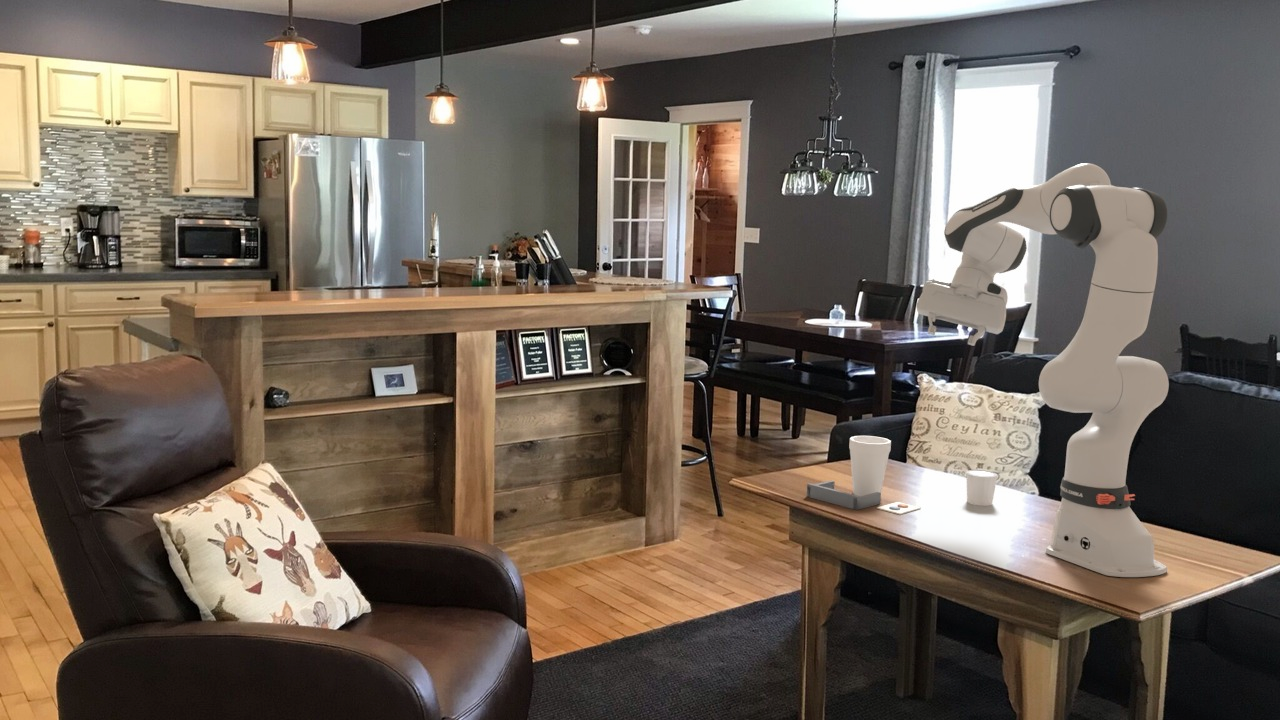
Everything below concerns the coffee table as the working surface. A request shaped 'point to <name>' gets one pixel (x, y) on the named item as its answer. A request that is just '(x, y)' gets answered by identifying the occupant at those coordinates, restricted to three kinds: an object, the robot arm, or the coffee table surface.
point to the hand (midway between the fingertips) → (950, 338)
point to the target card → (898, 508)
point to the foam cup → (868, 463)
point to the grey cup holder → (841, 496)
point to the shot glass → (980, 487)
